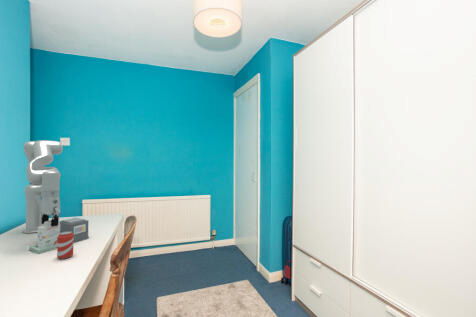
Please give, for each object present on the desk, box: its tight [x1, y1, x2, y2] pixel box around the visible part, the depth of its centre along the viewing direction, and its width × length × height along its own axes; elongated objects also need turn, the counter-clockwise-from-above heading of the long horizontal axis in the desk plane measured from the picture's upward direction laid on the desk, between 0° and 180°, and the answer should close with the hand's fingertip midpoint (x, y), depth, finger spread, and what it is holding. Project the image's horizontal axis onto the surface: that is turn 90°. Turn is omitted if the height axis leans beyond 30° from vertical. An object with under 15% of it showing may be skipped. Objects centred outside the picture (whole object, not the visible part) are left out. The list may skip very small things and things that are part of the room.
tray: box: [28, 243, 57, 254], centre depth 123 cm, size 10×14×2 cm
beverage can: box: [56, 231, 75, 260], centre depth 111 cm, size 6×6×12 cm
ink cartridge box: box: [37, 218, 61, 249], centre depth 124 cm, size 9×5×15 cm, turn 165°
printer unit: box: [60, 217, 89, 244], centre depth 136 cm, size 12×10×12 cm
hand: (49, 224), depth 124 cm, fingers open, 9 cm apart
